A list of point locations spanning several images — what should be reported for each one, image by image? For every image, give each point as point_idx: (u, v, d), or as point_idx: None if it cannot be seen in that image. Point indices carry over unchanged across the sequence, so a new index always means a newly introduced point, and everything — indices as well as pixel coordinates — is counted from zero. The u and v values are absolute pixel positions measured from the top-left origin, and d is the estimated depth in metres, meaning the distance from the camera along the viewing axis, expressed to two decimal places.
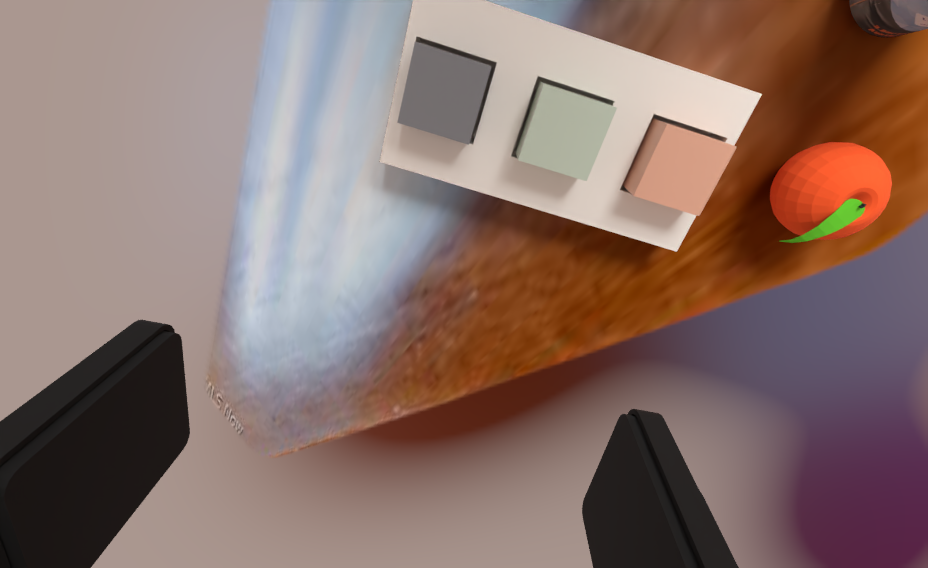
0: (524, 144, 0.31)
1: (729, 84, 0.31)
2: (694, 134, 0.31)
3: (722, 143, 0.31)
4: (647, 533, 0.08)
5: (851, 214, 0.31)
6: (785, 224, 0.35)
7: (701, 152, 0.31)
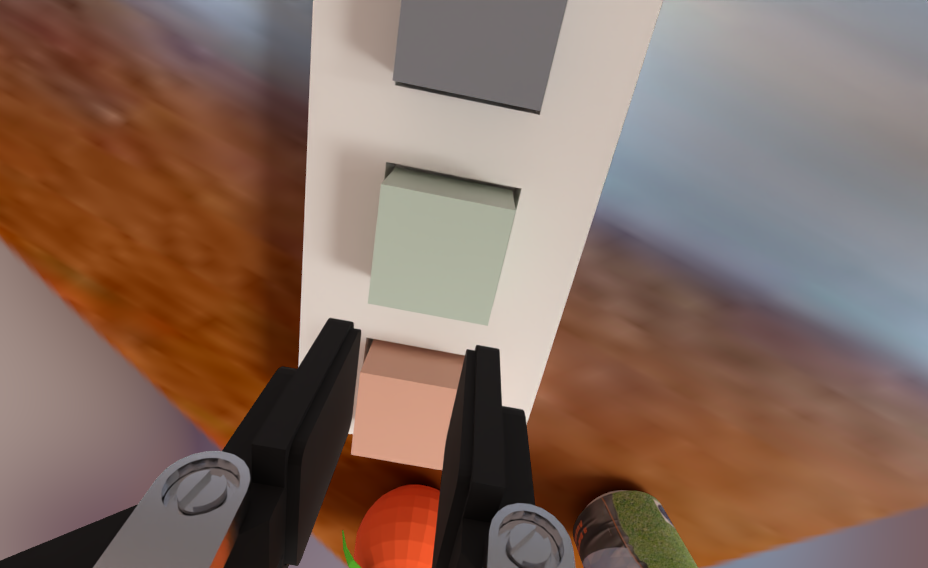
0: (410, 191, 0.17)
1: None
2: None
3: None
4: (456, 441, 0.09)
5: None
6: (365, 526, 0.27)
7: (438, 438, 0.22)
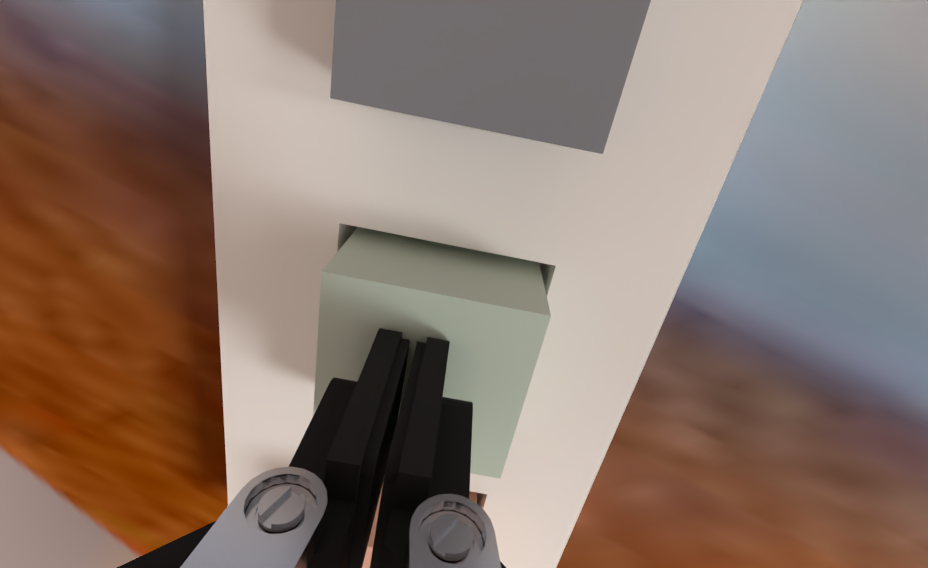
0: (372, 284, 0.10)
1: None
2: None
3: None
4: None
5: None
6: None
7: None
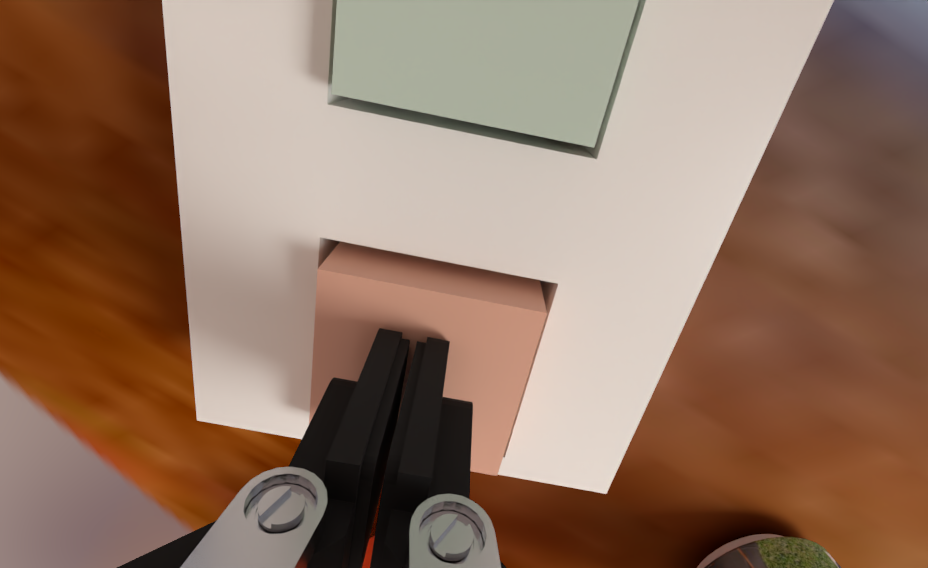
0: None
1: (631, 433, 0.13)
2: (521, 384, 0.11)
3: (502, 447, 0.12)
4: None
5: None
6: None
7: (475, 411, 0.11)
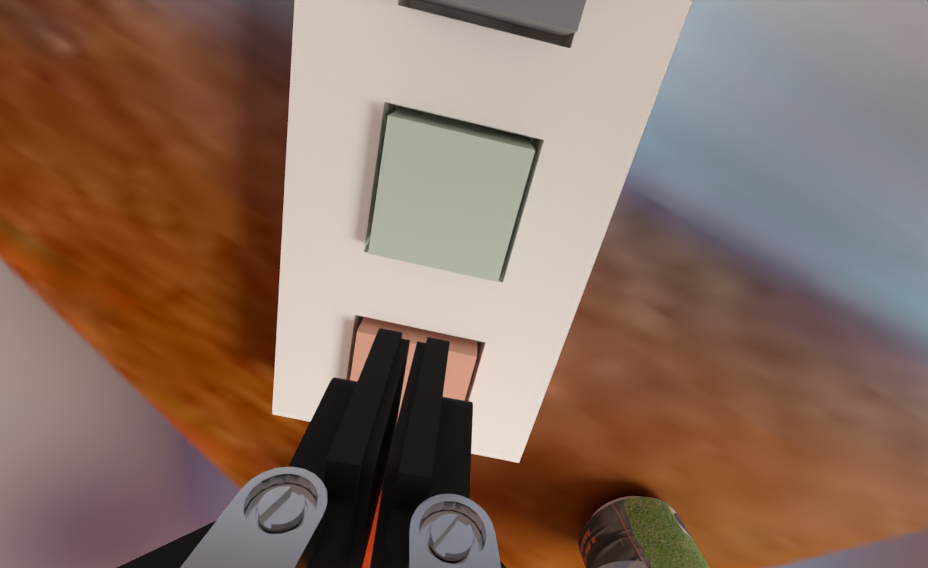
0: (420, 125, 0.15)
1: (531, 426, 0.22)
2: (464, 393, 0.20)
3: None
4: None
5: None
6: None
7: None
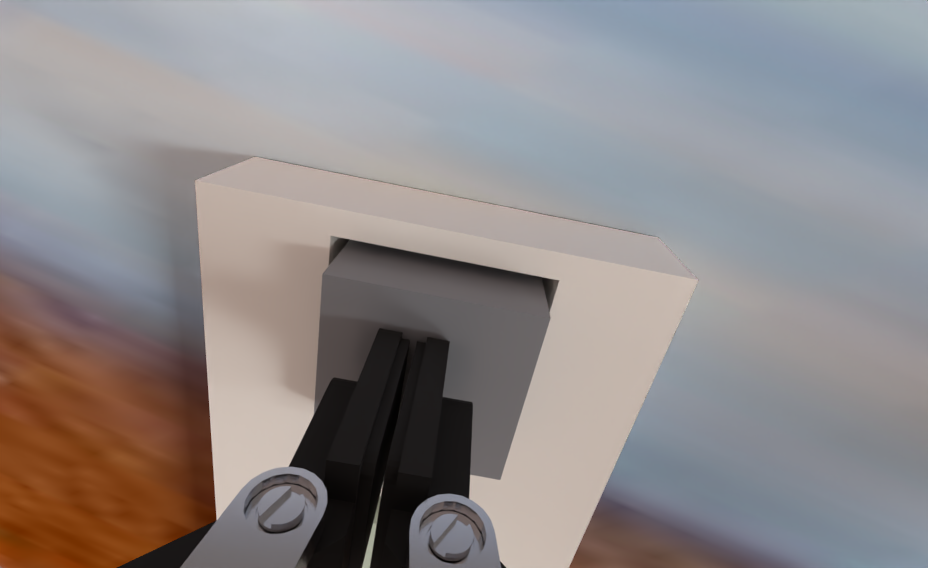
0: None
1: None
2: None
3: None
4: None
5: None
6: None
7: None
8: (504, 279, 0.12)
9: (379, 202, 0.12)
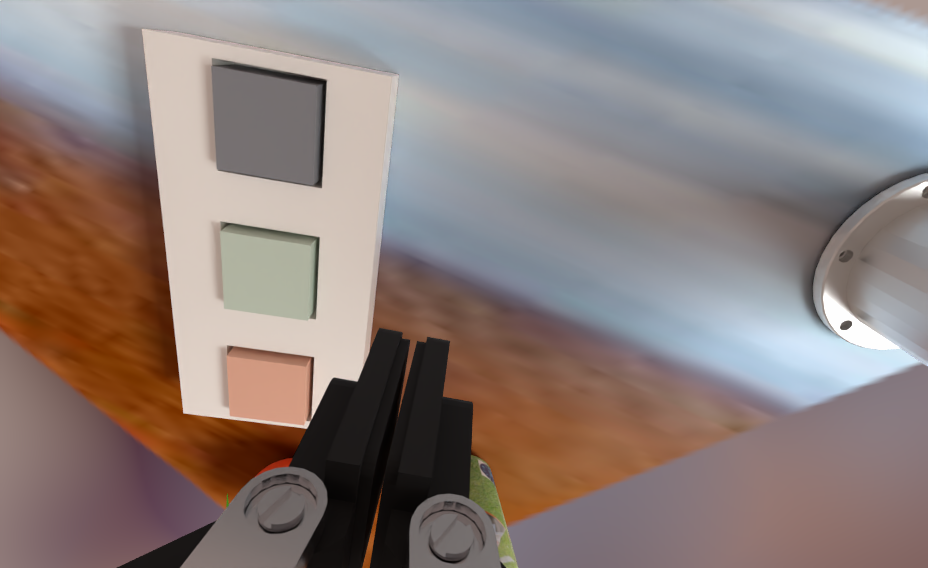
0: (240, 235, 0.26)
1: None
2: (303, 390, 0.31)
3: (303, 414, 0.32)
4: None
5: None
6: None
7: (290, 401, 0.31)
8: (305, 80, 0.24)
9: (238, 45, 0.24)
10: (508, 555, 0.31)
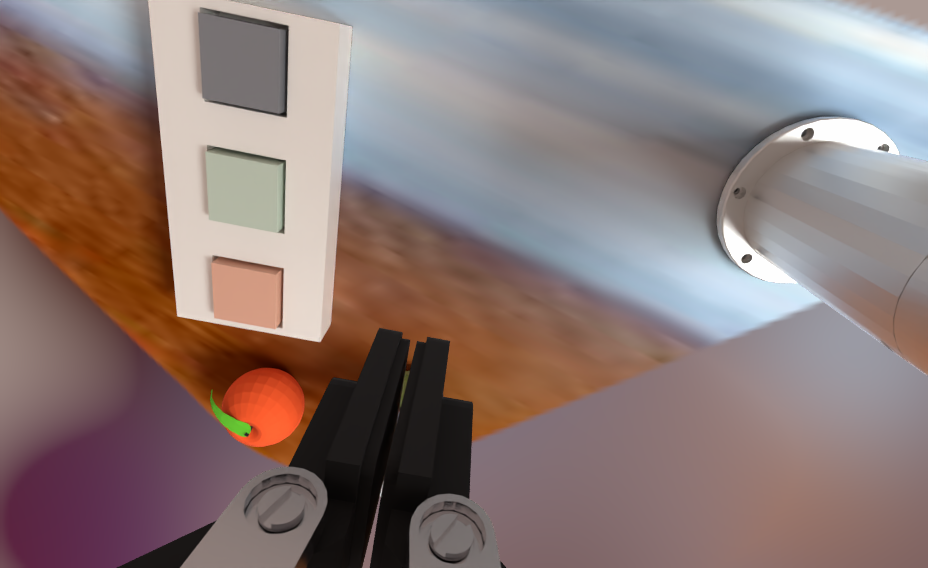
0: (221, 155, 0.32)
1: (320, 318, 0.39)
2: (274, 297, 0.37)
3: (274, 318, 0.38)
4: None
5: (239, 430, 0.39)
6: (228, 389, 0.41)
7: (263, 306, 0.37)
8: (273, 27, 0.30)
9: None
10: None
